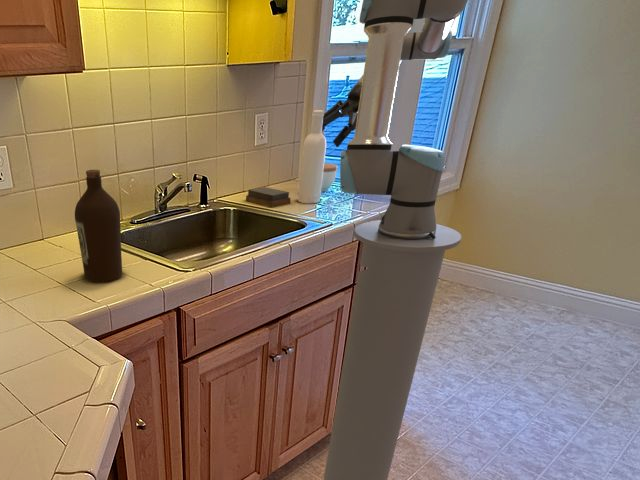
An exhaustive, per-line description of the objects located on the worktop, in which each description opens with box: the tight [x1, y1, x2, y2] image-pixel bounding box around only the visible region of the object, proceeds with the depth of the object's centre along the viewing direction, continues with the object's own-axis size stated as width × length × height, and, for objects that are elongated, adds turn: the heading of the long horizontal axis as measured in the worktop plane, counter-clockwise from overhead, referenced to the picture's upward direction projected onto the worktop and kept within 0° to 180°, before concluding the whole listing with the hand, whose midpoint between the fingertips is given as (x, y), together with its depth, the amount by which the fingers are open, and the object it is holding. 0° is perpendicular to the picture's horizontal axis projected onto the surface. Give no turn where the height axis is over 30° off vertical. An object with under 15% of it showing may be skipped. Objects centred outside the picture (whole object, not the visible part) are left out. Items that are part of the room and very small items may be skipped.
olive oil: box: [74, 169, 123, 283], centre depth 119 cm, size 11×11×25 cm
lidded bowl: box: [321, 162, 339, 193], centre depth 197 cm, size 13×13×11 cm
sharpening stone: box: [245, 186, 292, 208], centre depth 184 cm, size 14×9×4 cm, turn 32°
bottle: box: [297, 109, 327, 204], centre depth 177 cm, size 8×8×30 cm
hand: (322, 142), depth 175 cm, fingers open, 13 cm apart
